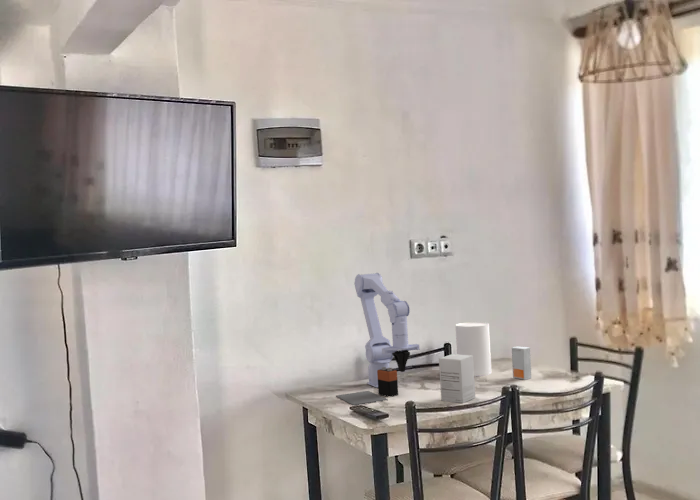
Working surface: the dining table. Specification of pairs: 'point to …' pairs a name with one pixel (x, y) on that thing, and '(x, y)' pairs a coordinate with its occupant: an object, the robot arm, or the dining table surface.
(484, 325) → the canister
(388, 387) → the battery
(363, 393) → the mat
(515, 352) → the skincare box
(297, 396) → the dining table surface
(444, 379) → the supplement box
